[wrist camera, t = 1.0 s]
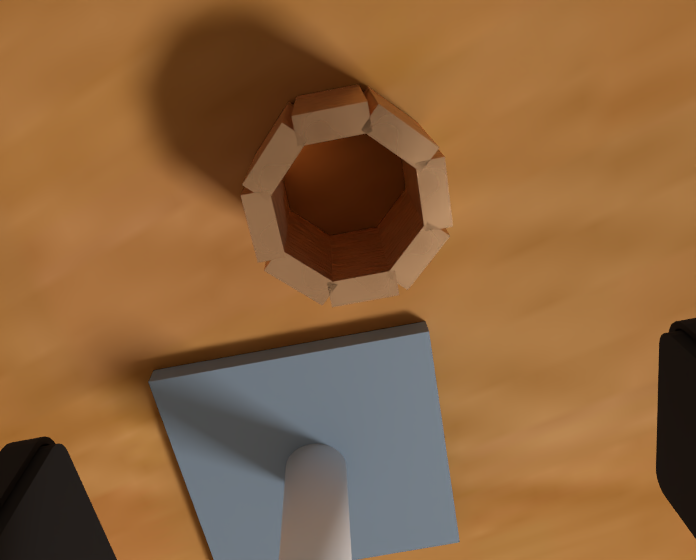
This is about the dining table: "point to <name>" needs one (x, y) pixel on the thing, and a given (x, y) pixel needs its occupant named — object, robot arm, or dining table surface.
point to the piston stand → (314, 448)
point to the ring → (357, 246)
